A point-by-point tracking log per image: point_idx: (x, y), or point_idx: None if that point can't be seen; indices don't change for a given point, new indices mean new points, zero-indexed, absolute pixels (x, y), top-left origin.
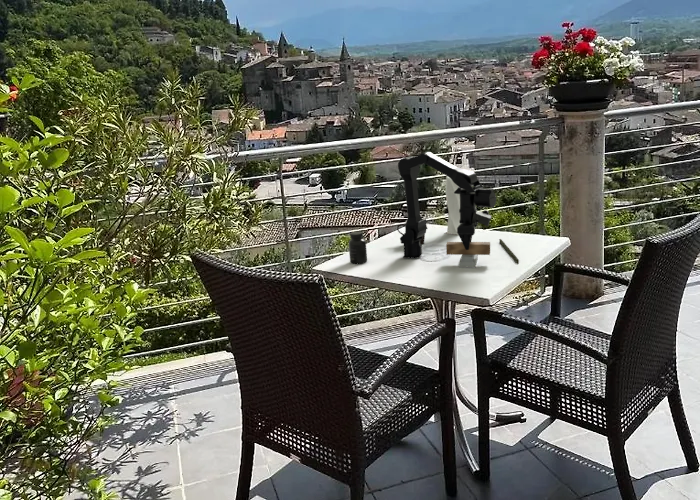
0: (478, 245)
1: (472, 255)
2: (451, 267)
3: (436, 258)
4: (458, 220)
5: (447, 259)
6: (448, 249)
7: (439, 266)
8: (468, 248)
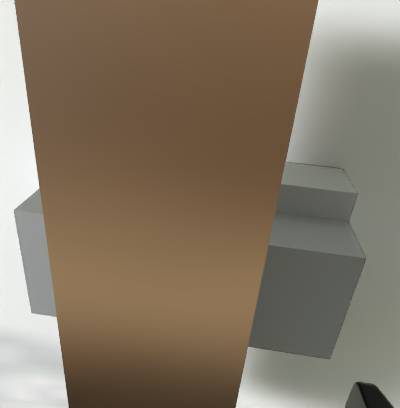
0: (264, 263)
1: (282, 253)
2: None
3: (67, 400)
4: None
5: None
6: None
7: (257, 402)
8: (389, 406)
